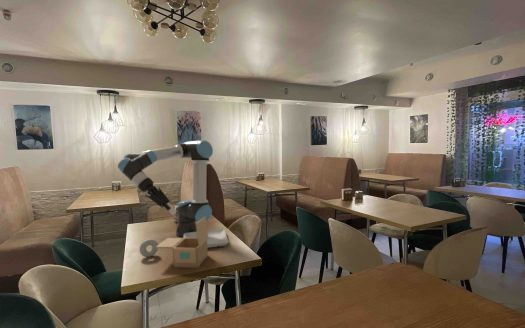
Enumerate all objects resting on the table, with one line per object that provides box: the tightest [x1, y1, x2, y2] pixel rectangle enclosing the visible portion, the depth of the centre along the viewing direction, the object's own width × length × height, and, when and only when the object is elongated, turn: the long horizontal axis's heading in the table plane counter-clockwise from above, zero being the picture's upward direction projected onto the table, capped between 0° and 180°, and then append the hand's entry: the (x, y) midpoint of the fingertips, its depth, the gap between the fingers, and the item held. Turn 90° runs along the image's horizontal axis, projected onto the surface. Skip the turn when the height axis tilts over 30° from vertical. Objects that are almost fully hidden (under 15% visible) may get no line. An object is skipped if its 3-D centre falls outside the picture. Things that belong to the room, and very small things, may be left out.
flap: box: [196, 216, 208, 247], centre depth 140 cm, size 13×12×1 cm
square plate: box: [182, 228, 229, 249], centre depth 170 cm, size 27×27×4 cm
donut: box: [139, 238, 159, 258], centre depth 150 cm, size 10×4×10 cm, turn 125°
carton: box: [156, 237, 209, 269], centre depth 142 cm, size 16×22×10 cm
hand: (174, 213), depth 141 cm, fingers closed
